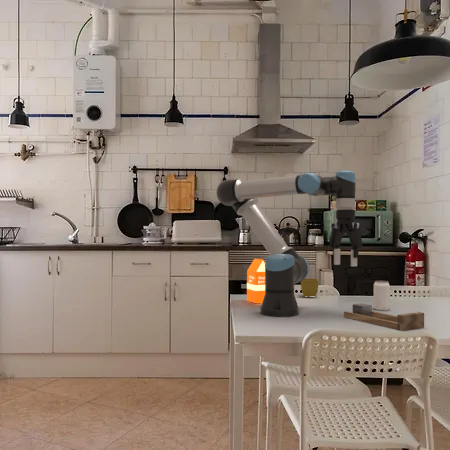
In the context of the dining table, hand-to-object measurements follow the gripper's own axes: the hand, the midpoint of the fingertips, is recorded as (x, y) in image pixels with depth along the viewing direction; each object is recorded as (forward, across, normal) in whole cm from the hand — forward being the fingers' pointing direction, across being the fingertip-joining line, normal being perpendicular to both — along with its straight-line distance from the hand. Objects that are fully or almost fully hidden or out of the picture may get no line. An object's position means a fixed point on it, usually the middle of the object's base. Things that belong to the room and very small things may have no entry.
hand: (345, 265), depth 181 cm
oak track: (+19, -18, 0) cm, 26 cm away
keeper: (+19, -9, 0) cm, 21 cm away
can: (+20, 0, -21) cm, 29 cm away
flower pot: (+20, +42, -17) cm, 49 cm away
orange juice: (+20, +40, +15) cm, 47 cm away
